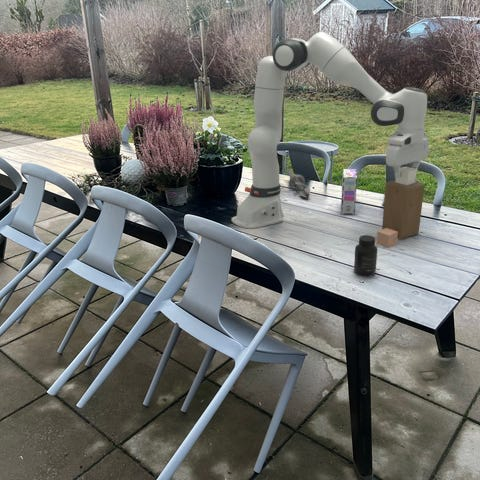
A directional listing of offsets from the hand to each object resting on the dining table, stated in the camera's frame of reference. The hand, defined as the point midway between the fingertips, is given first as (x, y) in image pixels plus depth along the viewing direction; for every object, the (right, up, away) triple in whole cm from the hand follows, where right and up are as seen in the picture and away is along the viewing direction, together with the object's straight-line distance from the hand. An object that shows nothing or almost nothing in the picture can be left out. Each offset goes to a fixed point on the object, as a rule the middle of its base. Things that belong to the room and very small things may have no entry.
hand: (405, 174), depth 169 cm
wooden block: (+1, -21, +9) cm, 23 cm away
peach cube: (-7, -25, 0) cm, 26 cm away
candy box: (-13, -10, +35) cm, 39 cm away
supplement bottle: (-20, -34, -19) cm, 44 cm away
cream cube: (0, -3, +1) cm, 3 cm away
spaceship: (-32, +1, +64) cm, 71 cm away
